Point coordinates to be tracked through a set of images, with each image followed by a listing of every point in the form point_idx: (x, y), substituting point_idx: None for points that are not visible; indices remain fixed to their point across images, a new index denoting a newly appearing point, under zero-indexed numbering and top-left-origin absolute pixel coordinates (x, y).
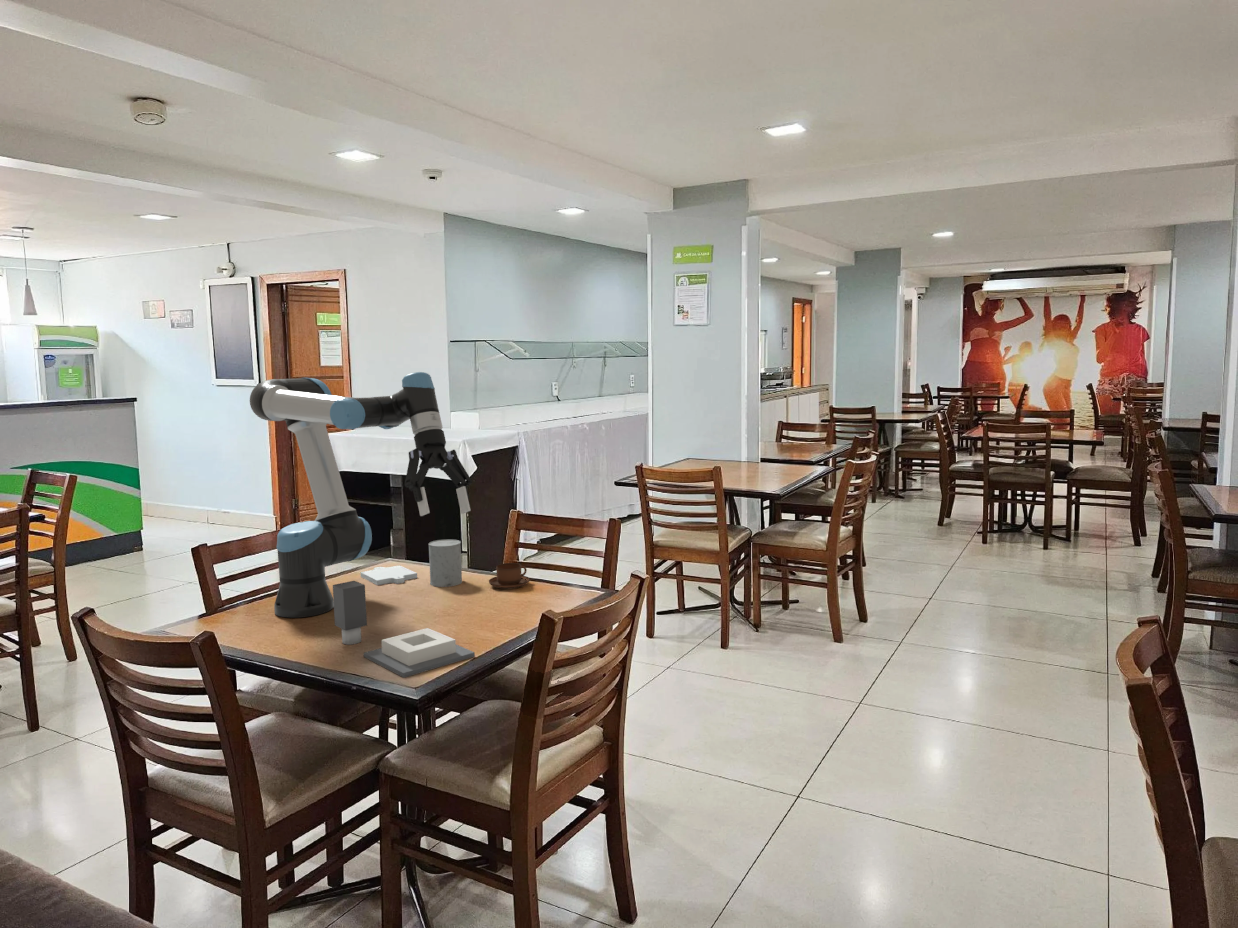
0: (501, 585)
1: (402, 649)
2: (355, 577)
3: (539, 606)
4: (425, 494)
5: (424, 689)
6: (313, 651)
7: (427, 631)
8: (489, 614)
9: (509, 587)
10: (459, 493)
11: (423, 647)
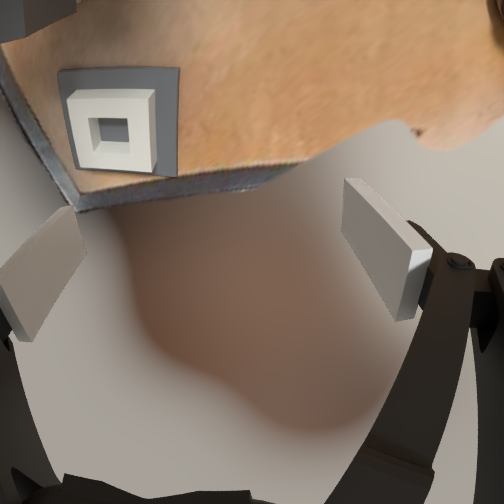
0: (497, 1)
1: (77, 152)
2: None
3: (432, 107)
4: (48, 309)
5: (87, 202)
6: None
7: (137, 114)
8: (353, 52)
9: (500, 14)
10: (389, 252)
11: (102, 165)
